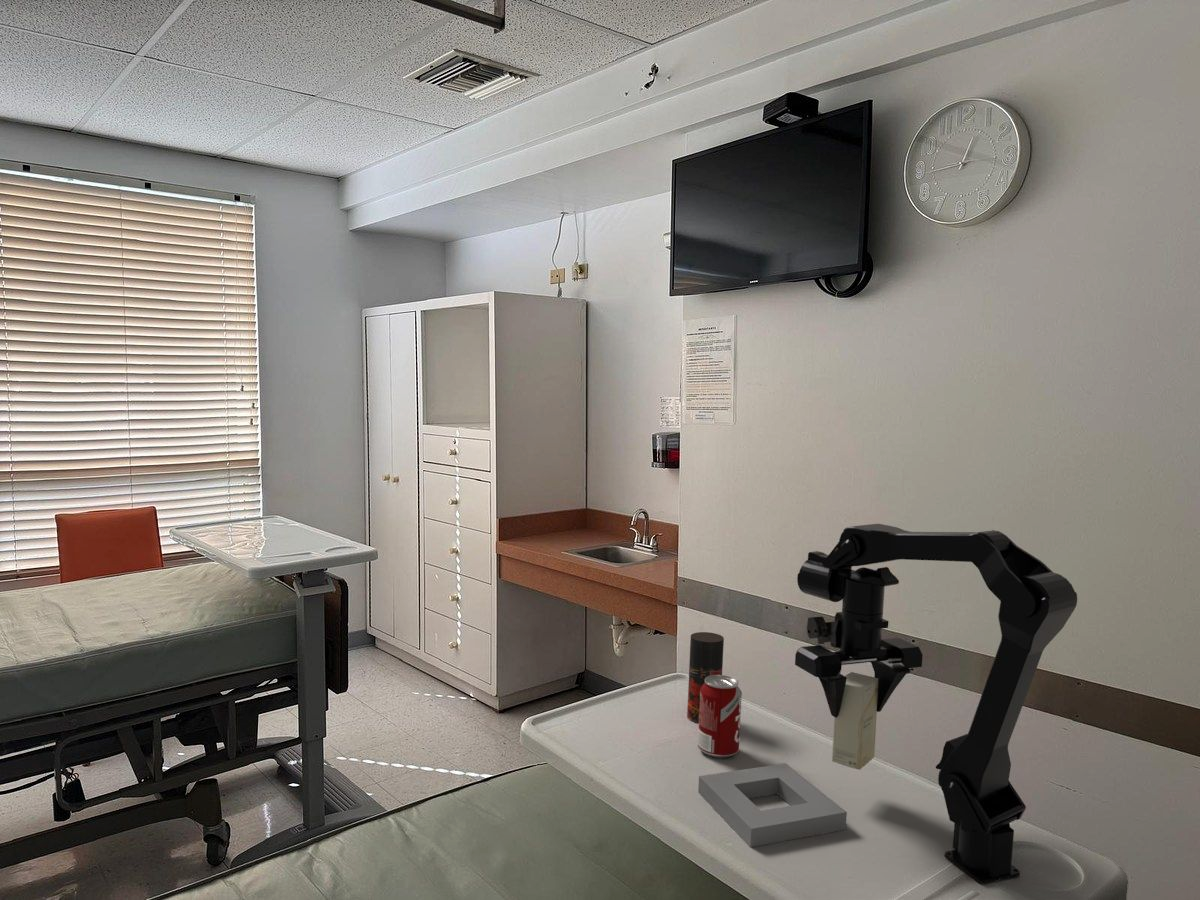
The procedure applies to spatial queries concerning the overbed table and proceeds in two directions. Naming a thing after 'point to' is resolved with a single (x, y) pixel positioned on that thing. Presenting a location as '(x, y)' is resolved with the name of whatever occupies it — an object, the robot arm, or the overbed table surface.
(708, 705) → the soda can
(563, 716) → the overbed table surface
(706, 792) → the socket holder
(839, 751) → the skincare box
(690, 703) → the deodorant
